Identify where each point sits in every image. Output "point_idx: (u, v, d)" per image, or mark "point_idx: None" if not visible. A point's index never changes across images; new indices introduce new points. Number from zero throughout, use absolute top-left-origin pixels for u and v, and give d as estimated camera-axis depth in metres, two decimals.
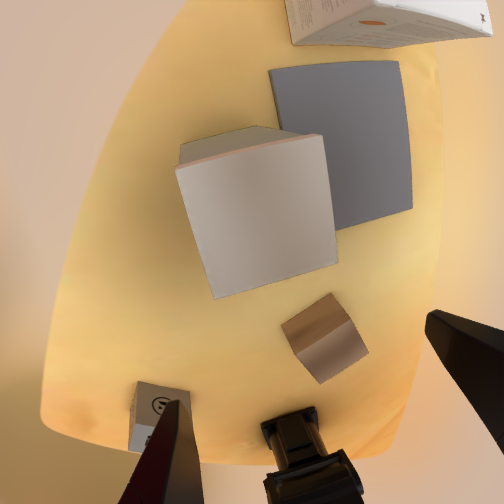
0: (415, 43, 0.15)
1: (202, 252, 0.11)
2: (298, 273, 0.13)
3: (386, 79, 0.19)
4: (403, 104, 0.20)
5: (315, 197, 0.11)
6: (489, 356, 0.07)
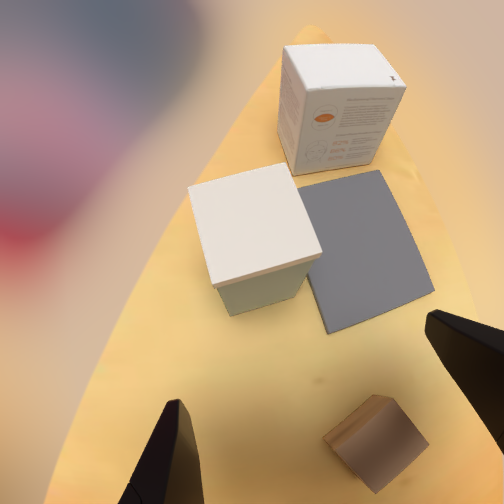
0: (378, 141, 0.25)
1: (203, 241, 0.15)
2: (286, 261, 0.14)
3: (373, 185, 0.27)
4: (394, 201, 0.26)
5: (288, 200, 0.15)
6: (489, 356, 0.07)
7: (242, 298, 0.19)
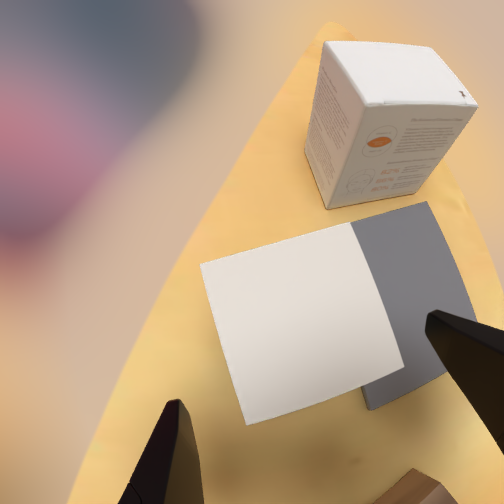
0: (431, 168, 0.19)
1: (230, 359, 0.09)
2: (356, 386, 0.09)
3: (421, 222, 0.21)
4: (444, 241, 0.20)
5: (358, 287, 0.10)
6: (489, 356, 0.07)
7: None
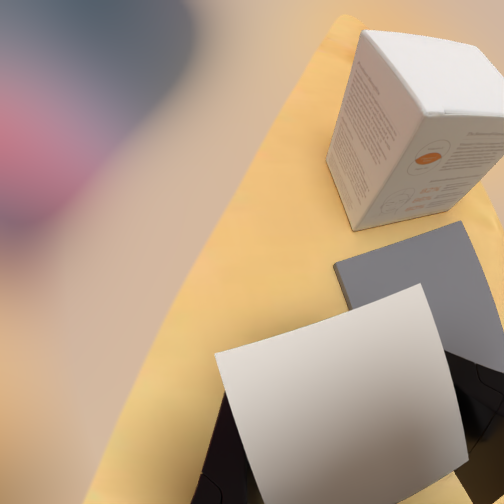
0: (471, 185, 0.15)
1: (261, 480, 0.06)
2: (415, 491, 0.05)
3: (456, 245, 0.18)
4: (479, 267, 0.17)
5: (428, 374, 0.06)
6: None
7: None
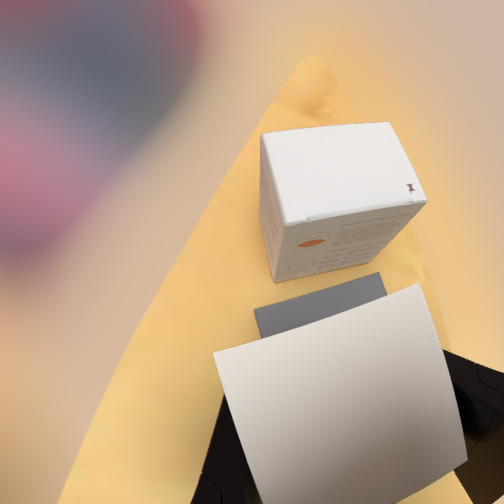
0: (381, 247, 0.21)
1: (259, 479, 0.06)
2: (413, 491, 0.05)
3: (369, 294, 0.23)
4: None
5: (427, 374, 0.06)
6: None
7: None
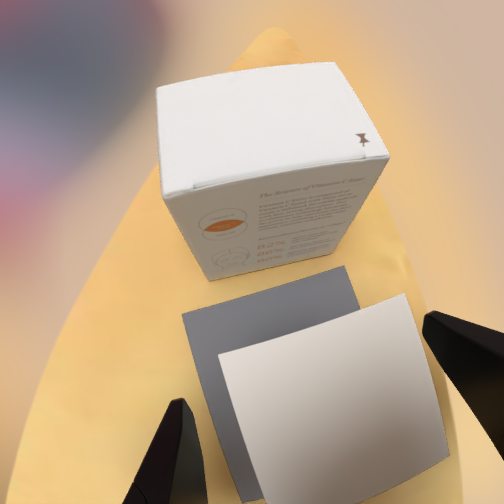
0: (340, 232, 0.16)
1: (258, 467, 0.07)
2: (398, 482, 0.06)
3: (331, 295, 0.18)
4: None
5: (410, 376, 0.07)
6: (486, 358, 0.07)
7: None
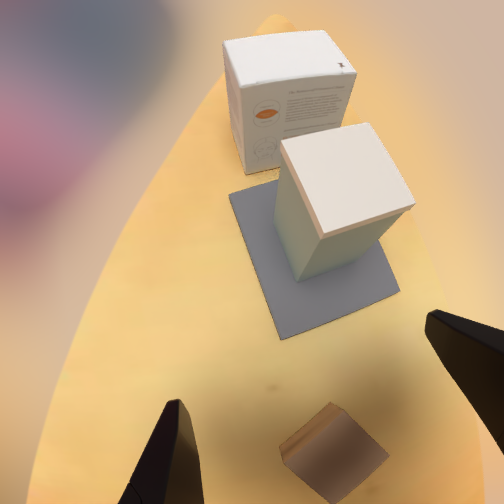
0: None
1: (308, 191, 0.14)
2: (388, 210, 0.14)
3: None
4: None
5: (379, 155, 0.15)
6: (489, 356, 0.07)
7: (324, 257, 0.19)
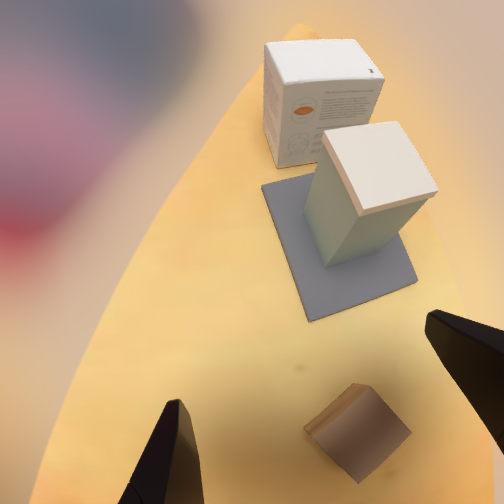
0: None
1: (349, 174, 0.16)
2: (416, 194, 0.15)
3: None
4: None
5: (407, 149, 0.16)
6: (489, 356, 0.07)
7: (355, 240, 0.20)
